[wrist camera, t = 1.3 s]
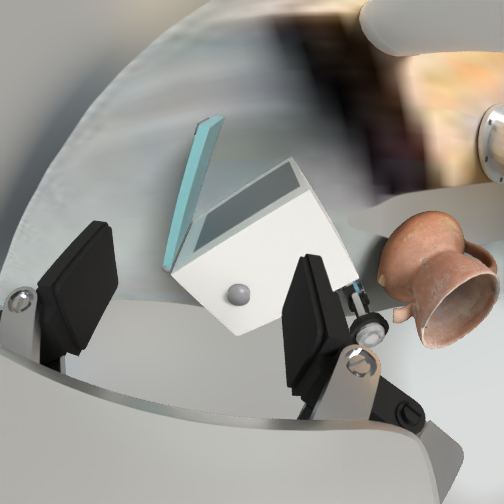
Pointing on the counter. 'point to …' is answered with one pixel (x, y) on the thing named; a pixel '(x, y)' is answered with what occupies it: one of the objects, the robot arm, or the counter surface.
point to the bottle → (433, 26)
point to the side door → (191, 185)
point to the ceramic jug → (438, 278)
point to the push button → (364, 318)
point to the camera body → (259, 248)
